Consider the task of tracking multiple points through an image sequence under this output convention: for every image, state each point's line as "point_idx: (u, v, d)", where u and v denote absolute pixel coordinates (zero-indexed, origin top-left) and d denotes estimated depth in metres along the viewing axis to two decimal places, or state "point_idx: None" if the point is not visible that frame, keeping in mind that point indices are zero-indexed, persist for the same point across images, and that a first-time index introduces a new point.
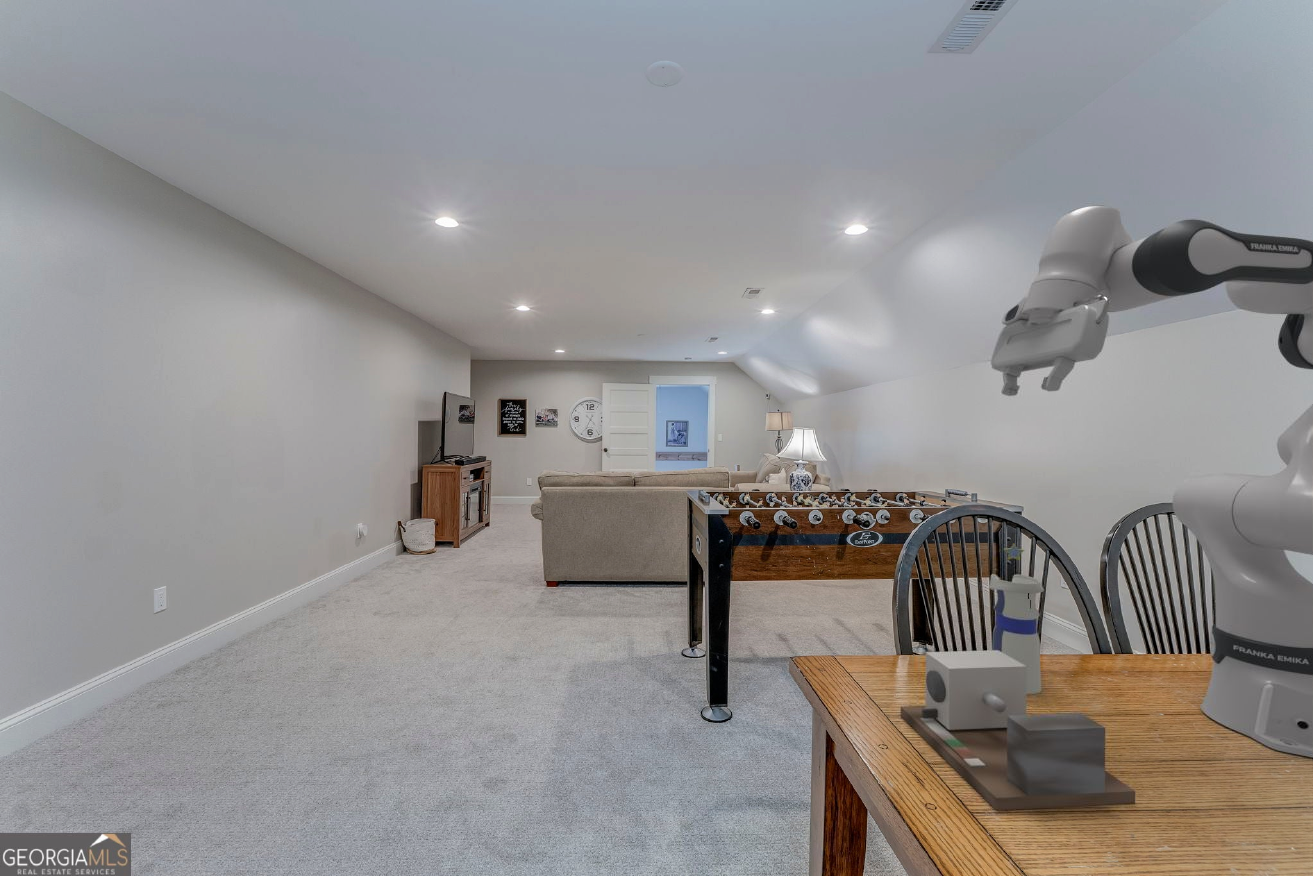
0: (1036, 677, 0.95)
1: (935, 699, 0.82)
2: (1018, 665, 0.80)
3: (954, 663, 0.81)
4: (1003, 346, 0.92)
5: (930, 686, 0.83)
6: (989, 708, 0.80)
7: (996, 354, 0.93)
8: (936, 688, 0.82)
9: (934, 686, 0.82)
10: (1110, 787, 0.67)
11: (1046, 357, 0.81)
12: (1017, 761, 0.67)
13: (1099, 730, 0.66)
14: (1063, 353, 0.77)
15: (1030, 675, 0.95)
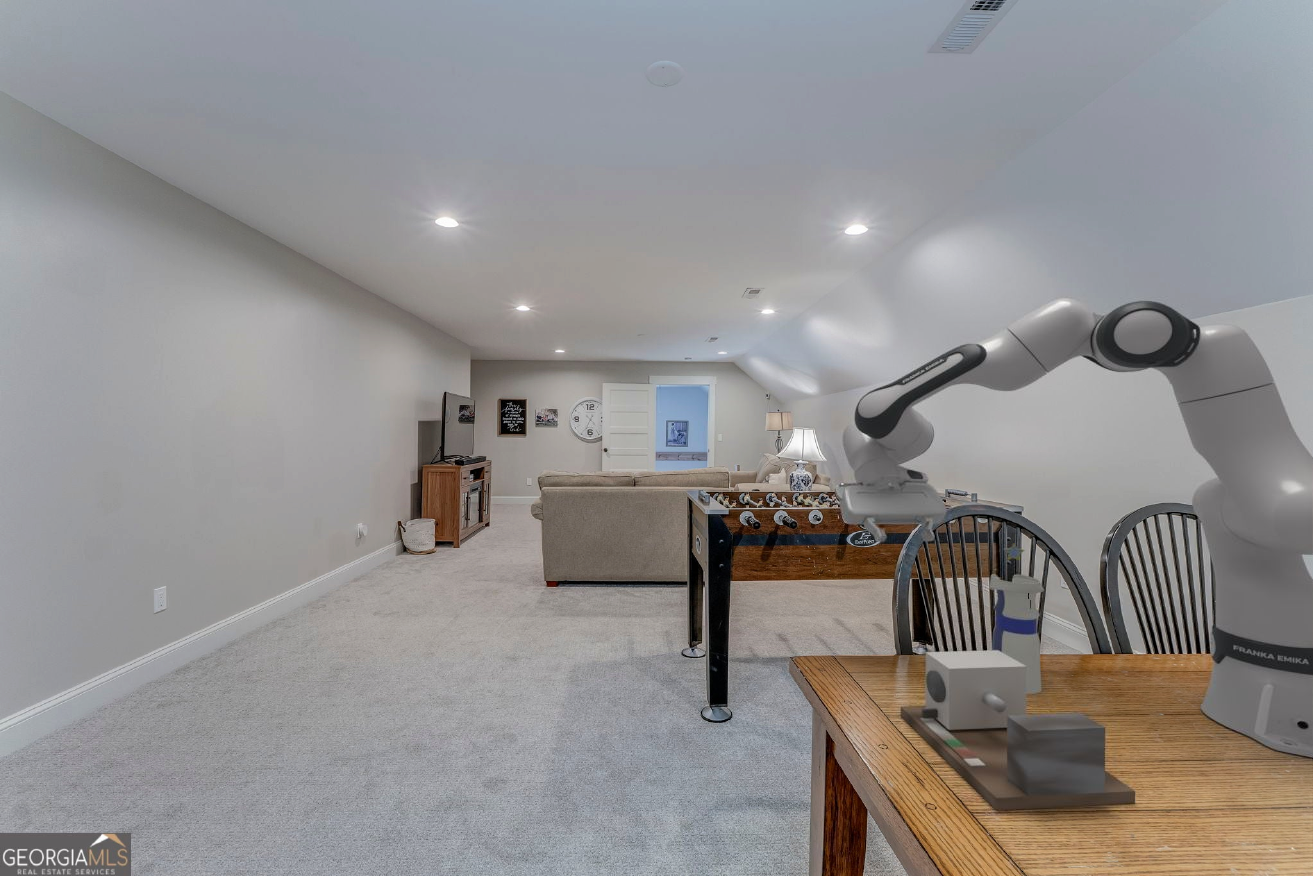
0: (1036, 677, 0.95)
1: (935, 699, 0.82)
2: (1018, 665, 0.80)
3: (954, 663, 0.81)
4: None
5: (930, 686, 0.83)
6: (989, 708, 0.80)
7: None
8: (936, 688, 0.82)
9: (934, 686, 0.82)
10: (1110, 787, 0.67)
11: (874, 523, 1.06)
12: (1017, 761, 0.67)
13: (1099, 730, 0.66)
14: None
15: (1030, 675, 0.95)
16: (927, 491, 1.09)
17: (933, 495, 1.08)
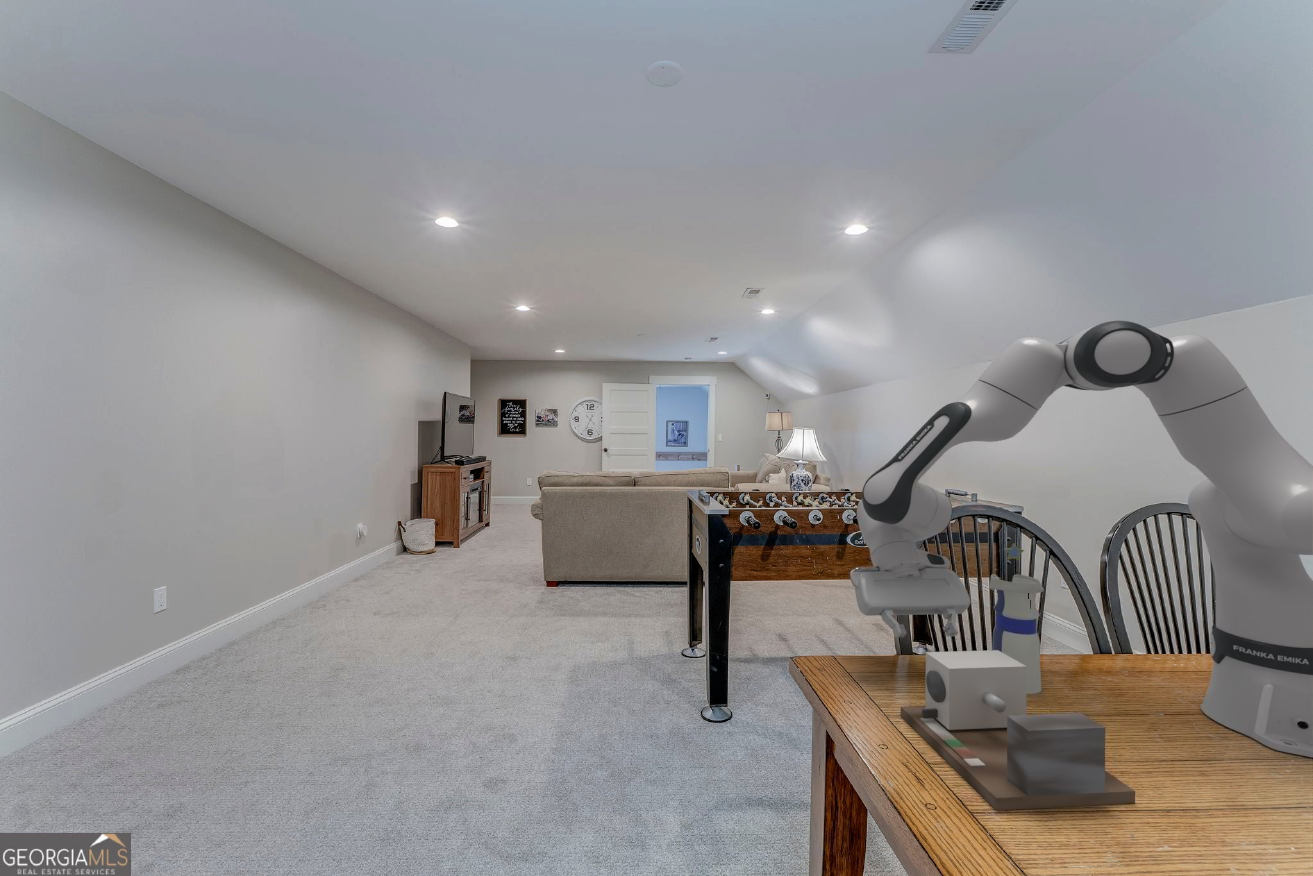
0: (1036, 677, 0.95)
1: (935, 699, 0.82)
2: (1018, 665, 0.80)
3: (954, 663, 0.81)
4: None
5: (930, 686, 0.83)
6: (989, 708, 0.80)
7: None
8: (936, 688, 0.82)
9: (934, 686, 0.82)
10: (1110, 787, 0.67)
11: (893, 614, 1.00)
12: (1017, 761, 0.67)
13: (1099, 730, 0.66)
14: None
15: (1030, 675, 0.95)
16: (949, 578, 1.02)
17: (955, 583, 1.01)
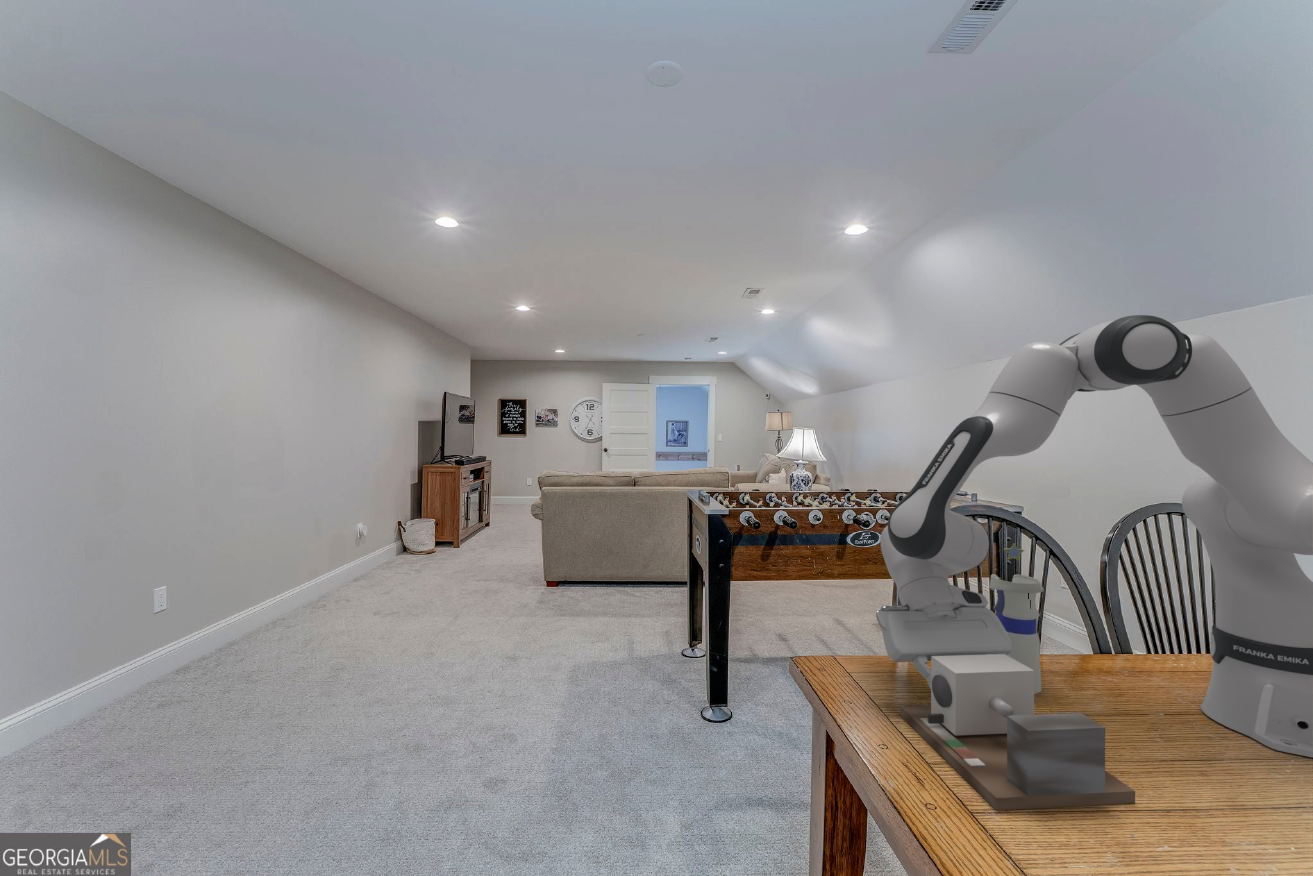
0: (1036, 677, 0.95)
1: (941, 704, 0.81)
2: (1026, 669, 0.79)
3: (960, 667, 0.80)
4: None
5: (936, 691, 0.82)
6: (996, 713, 0.78)
7: None
8: (942, 693, 0.80)
9: (940, 691, 0.81)
10: (1110, 787, 0.67)
11: None
12: (1017, 761, 0.67)
13: (1099, 730, 0.66)
14: (905, 661, 0.89)
15: None
16: (987, 619, 0.91)
17: (995, 624, 0.90)
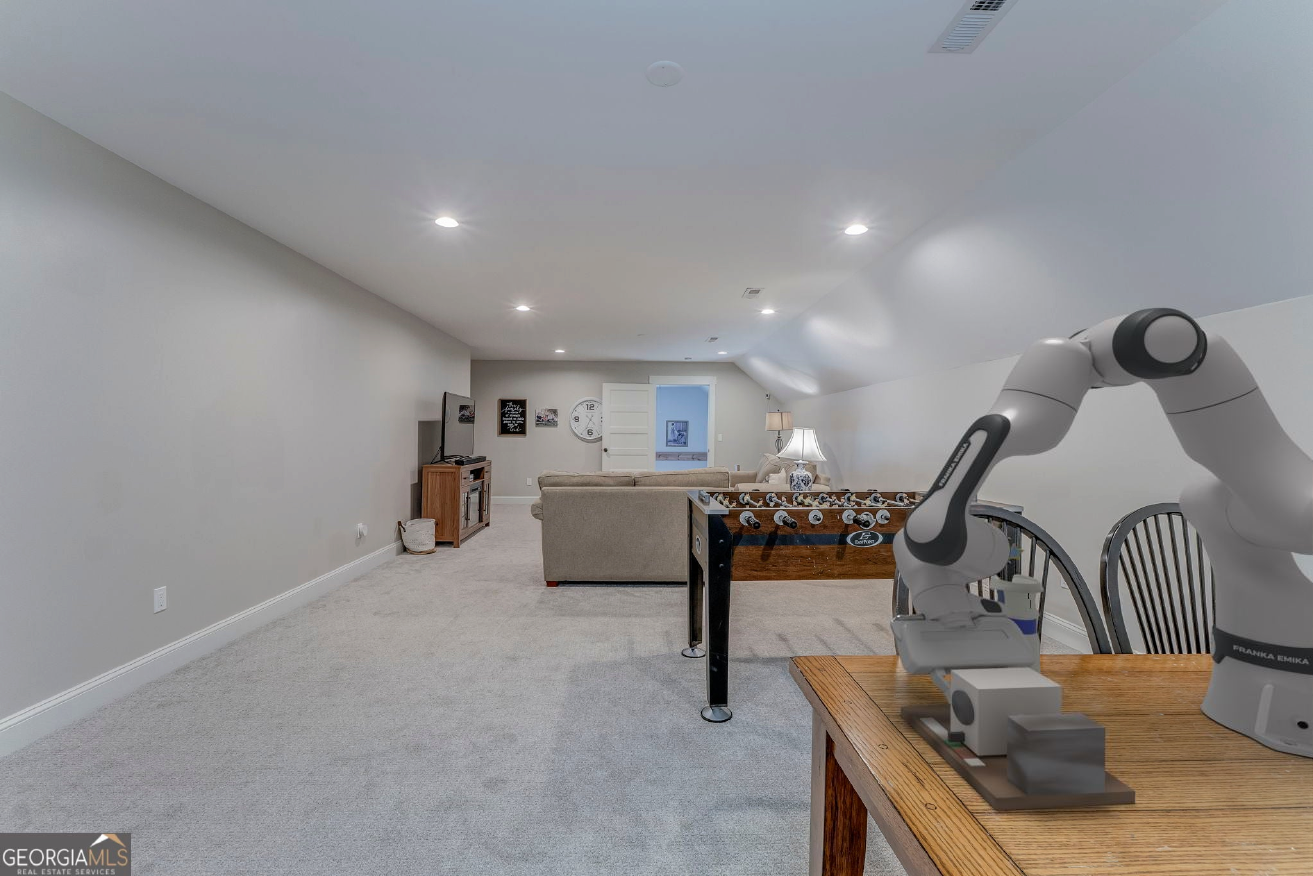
0: None
1: (962, 721, 0.76)
2: (1053, 685, 0.74)
3: (983, 682, 0.75)
4: None
5: (956, 707, 0.77)
6: None
7: None
8: (963, 709, 0.75)
9: (961, 707, 0.76)
10: (1110, 787, 0.67)
11: None
12: (1017, 761, 0.67)
13: (1099, 730, 0.66)
14: (921, 674, 0.84)
15: None
16: (1007, 629, 0.86)
17: (1016, 635, 0.85)
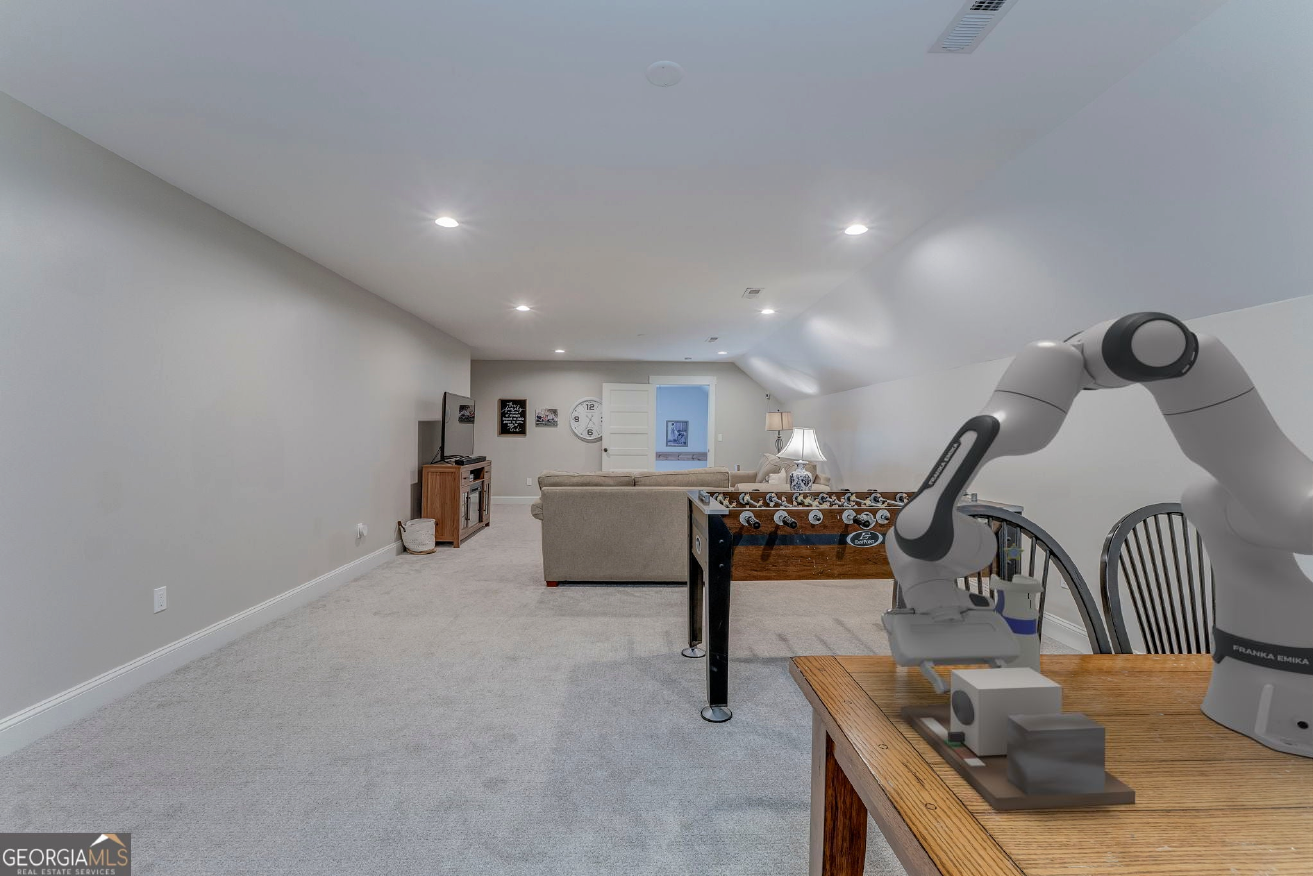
0: None
1: (962, 721, 0.76)
2: (1053, 685, 0.74)
3: (983, 682, 0.75)
4: None
5: (956, 707, 0.77)
6: None
7: None
8: (963, 709, 0.75)
9: (961, 707, 0.76)
10: (1110, 787, 0.67)
11: None
12: (1017, 761, 0.67)
13: (1099, 730, 0.66)
14: (911, 666, 0.87)
15: None
16: (995, 623, 0.89)
17: (1003, 628, 0.88)
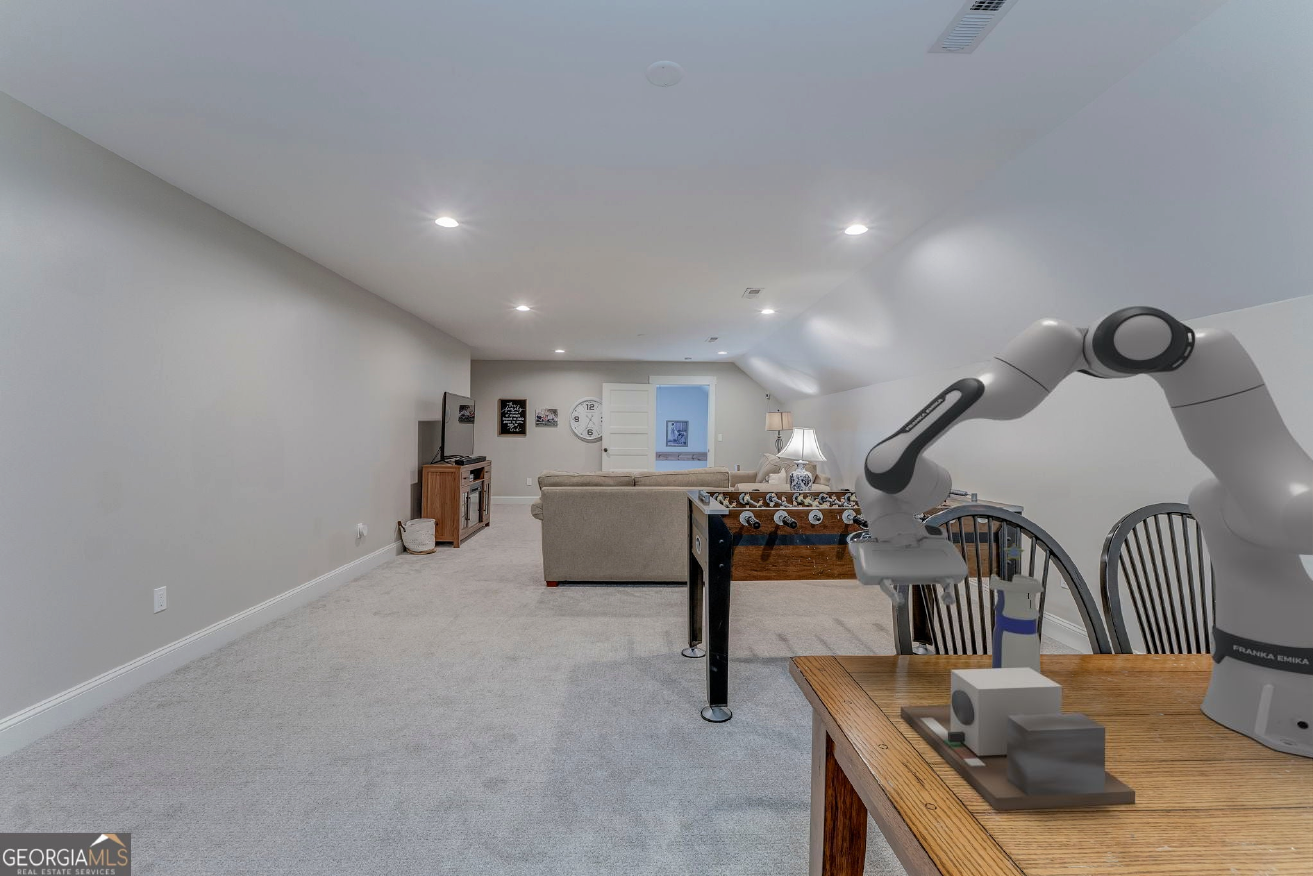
0: None
1: (962, 721, 0.76)
2: (1053, 685, 0.74)
3: (983, 682, 0.75)
4: None
5: (956, 707, 0.77)
6: None
7: None
8: (963, 709, 0.75)
9: (961, 707, 0.76)
10: (1110, 787, 0.67)
11: (891, 584, 1.00)
12: (1017, 761, 0.67)
13: (1099, 730, 0.66)
14: None
15: None
16: (946, 549, 1.02)
17: (953, 553, 1.01)
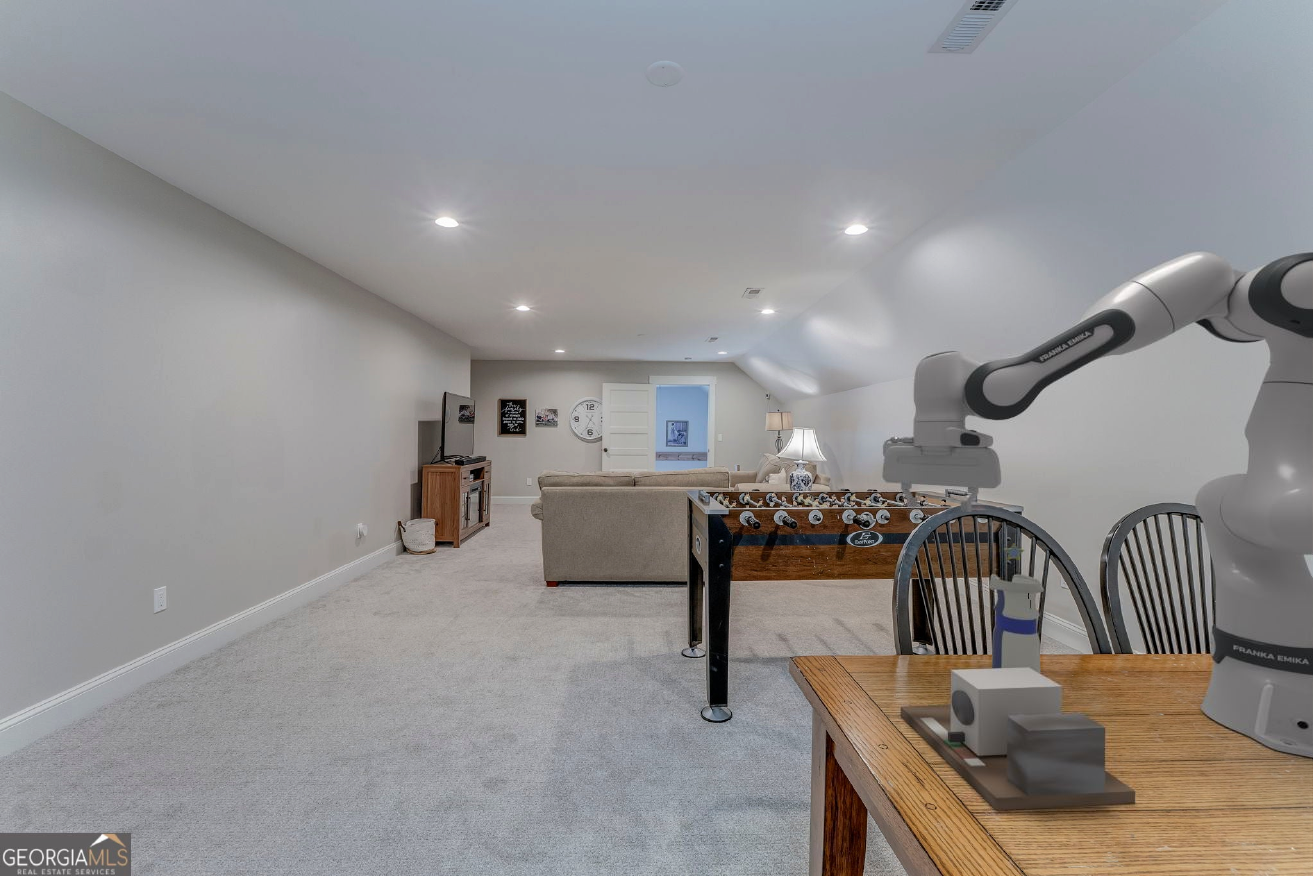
0: None
1: (962, 721, 0.76)
2: (1053, 685, 0.74)
3: (983, 682, 0.75)
4: None
5: (956, 707, 0.77)
6: None
7: None
8: (963, 709, 0.75)
9: (961, 707, 0.76)
10: (1110, 787, 0.67)
11: None
12: (1017, 761, 0.67)
13: (1099, 730, 0.66)
14: None
15: None
16: (982, 458, 0.97)
17: (987, 464, 0.97)
